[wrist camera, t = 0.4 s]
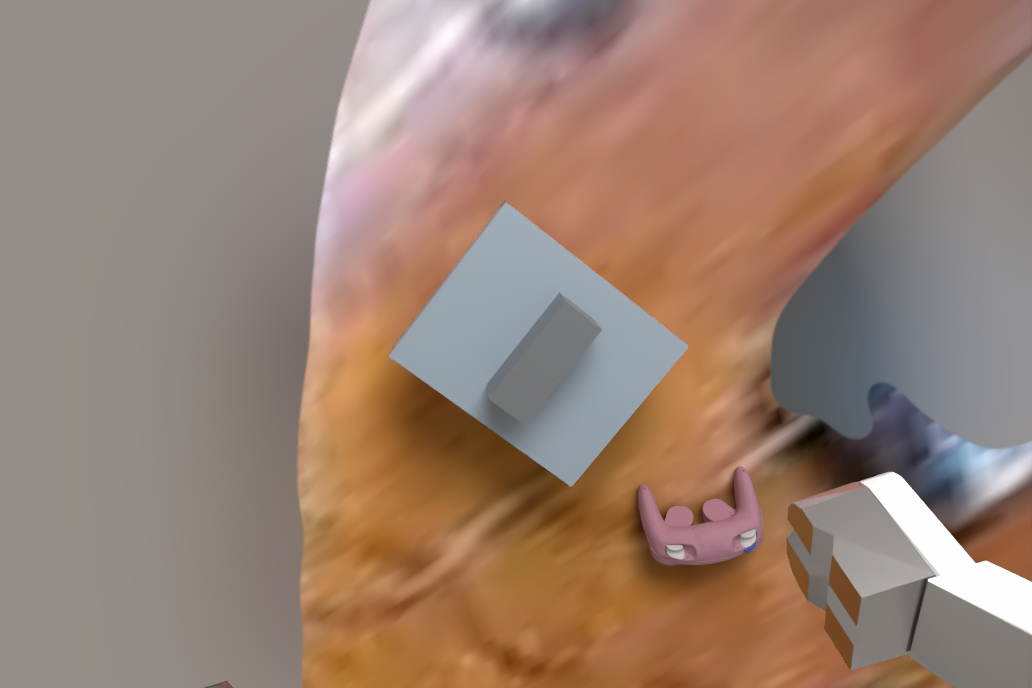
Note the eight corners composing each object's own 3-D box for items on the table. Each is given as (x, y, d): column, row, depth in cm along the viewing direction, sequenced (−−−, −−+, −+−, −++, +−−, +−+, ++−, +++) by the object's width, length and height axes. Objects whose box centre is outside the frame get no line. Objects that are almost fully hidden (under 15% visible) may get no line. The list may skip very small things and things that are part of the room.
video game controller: (634, 513, 68) (654, 583, 62) (632, 480, 65) (654, 550, 59) (744, 493, 68) (774, 561, 62) (747, 459, 65) (779, 527, 59)
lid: (679, 337, 56) (703, 359, 50) (567, 472, 58) (577, 508, 52) (504, 200, 53) (508, 205, 47) (392, 346, 55) (382, 370, 49)
